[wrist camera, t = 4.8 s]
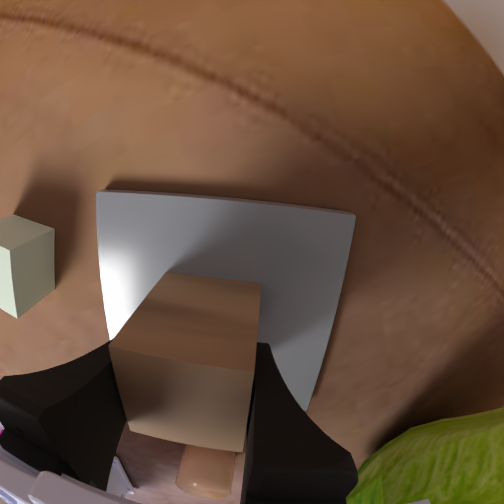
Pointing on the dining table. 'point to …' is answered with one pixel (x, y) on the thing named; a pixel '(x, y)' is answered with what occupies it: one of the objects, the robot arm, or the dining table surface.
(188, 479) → the peach rounded cylinder
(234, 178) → the dining table surface
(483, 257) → the dining table surface
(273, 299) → the slate coaster
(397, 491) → the lettuce
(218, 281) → the walnut block
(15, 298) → the pale green block
